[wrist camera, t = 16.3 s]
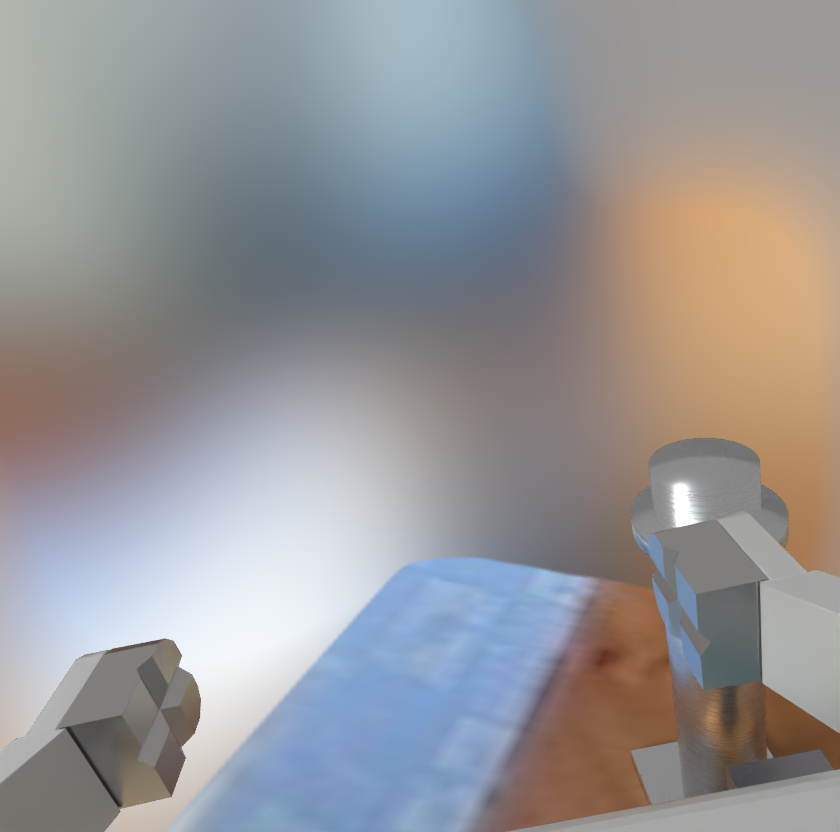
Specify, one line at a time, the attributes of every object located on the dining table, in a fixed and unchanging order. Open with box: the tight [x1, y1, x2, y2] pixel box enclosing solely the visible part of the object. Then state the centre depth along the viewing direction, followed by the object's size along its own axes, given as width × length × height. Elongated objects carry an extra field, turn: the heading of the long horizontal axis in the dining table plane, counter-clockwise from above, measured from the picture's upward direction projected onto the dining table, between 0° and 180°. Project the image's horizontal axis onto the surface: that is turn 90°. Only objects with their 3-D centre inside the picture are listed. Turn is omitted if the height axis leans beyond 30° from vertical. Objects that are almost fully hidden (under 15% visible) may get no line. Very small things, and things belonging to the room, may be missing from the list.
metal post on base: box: [631, 438, 788, 805], centre depth 27 cm, size 16×10×24 cm, turn 2°
